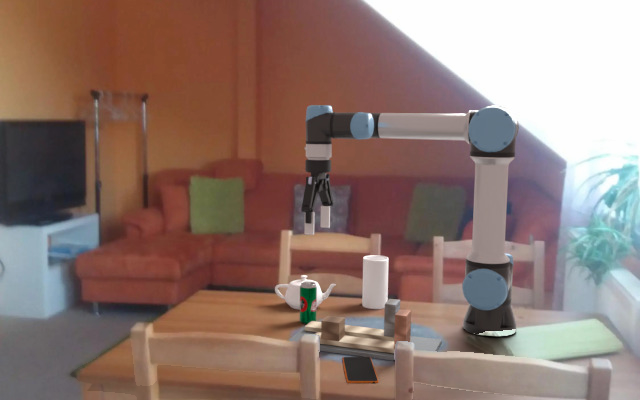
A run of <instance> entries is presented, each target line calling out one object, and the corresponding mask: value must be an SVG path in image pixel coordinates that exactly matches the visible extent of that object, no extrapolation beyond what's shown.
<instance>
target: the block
mask: <svg viewBox="0 0 640 400" xmlns="http://www.w3.org/2000/svg"><path fill="white" fill-rule="evenodd" d="M320 322H321V339H325V340H332V341H340V340H341V339H342V338H343V337H344V336H345V325H346V318H345V317H340V316H333V315H332V316H331V315H327V316H325V317H324V318H323V319H322V320H321V321H320Z"/></svg>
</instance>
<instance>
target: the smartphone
mask: <svg viewBox="0 0 640 400" xmlns="http://www.w3.org/2000/svg"><path fill="white" fill-rule="evenodd" d="M372 359H373V358H371V357H363V356H343V357H342V363H343V370H344V371H343V372H344V375H345V380H346V382H347V383H348V384H373V383H374V384H378V383H380V382H379V381H380V380H379V379H378V375H377V372H376V369H375V366H374V362H373V360H372Z"/></svg>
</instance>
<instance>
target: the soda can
mask: <svg viewBox="0 0 640 400" xmlns="http://www.w3.org/2000/svg"><path fill="white" fill-rule="evenodd" d="M317 308H318V307H317V286H316V283H315V282H310V281H306V282H302V283H301V286H300V310H299V321H300V323H301V324H304V325H307V324H308V323H310V322H311V321H317Z"/></svg>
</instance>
